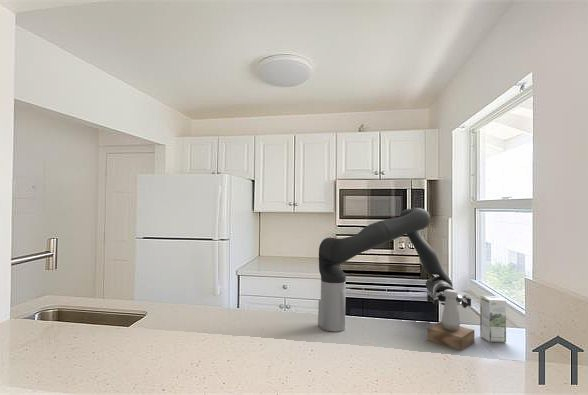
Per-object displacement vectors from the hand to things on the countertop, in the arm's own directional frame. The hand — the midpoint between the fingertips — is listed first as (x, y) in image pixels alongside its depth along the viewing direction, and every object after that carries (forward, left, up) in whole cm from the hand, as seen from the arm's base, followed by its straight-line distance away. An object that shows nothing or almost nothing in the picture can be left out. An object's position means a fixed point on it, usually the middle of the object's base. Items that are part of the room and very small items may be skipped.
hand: (451, 303), depth 109 cm
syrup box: (+9, +13, -13) cm, 20 cm away
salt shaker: (0, 0, -9) cm, 9 cm away
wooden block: (0, 0, -12) cm, 13 cm away
